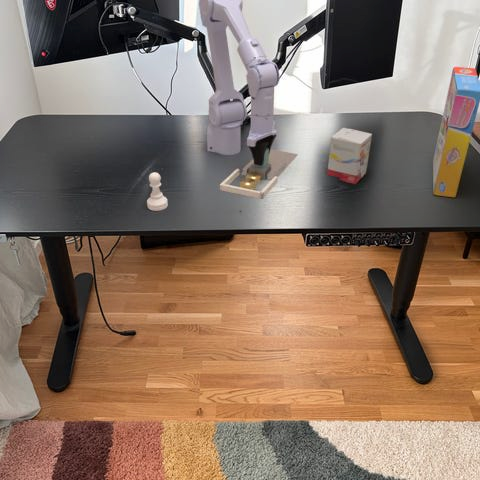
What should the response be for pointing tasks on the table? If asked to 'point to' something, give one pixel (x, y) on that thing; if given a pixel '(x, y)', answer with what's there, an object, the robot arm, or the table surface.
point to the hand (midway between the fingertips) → (261, 161)
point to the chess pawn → (156, 194)
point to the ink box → (349, 155)
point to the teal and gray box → (264, 168)
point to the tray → (242, 191)
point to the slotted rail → (274, 163)
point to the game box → (455, 130)
